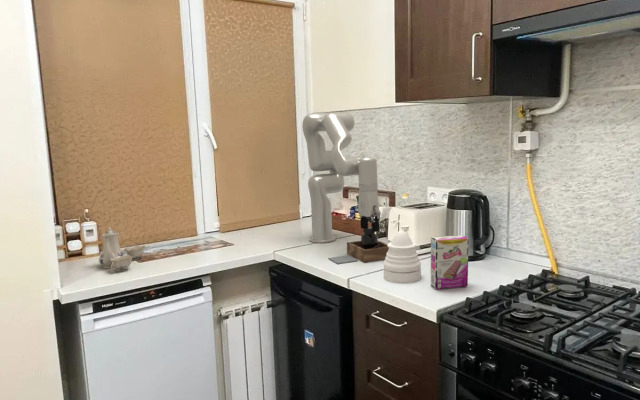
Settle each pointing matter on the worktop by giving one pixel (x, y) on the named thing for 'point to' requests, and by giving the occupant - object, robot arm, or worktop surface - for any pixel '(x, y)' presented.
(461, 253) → the candy bar box
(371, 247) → the supplement bottle
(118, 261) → the chinaware
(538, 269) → the worktop surface
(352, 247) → the open-top box
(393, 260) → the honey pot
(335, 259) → the grey mat
